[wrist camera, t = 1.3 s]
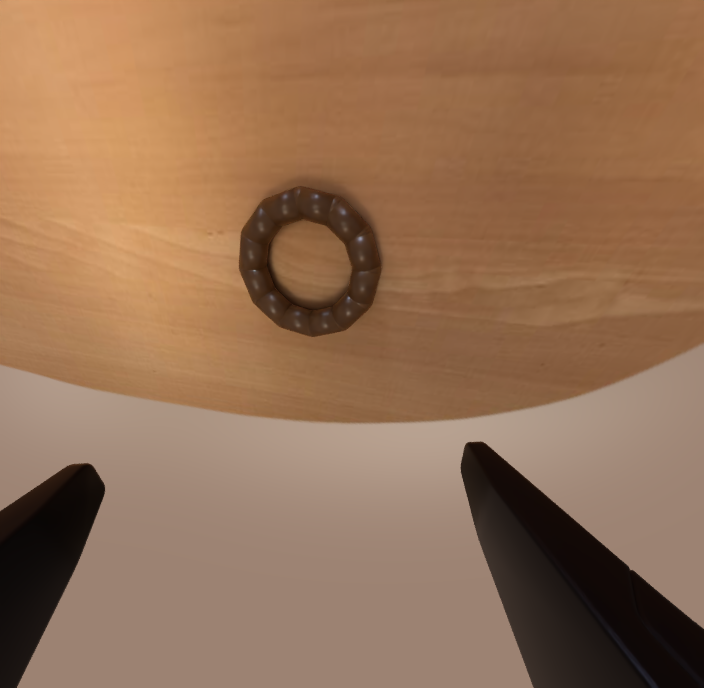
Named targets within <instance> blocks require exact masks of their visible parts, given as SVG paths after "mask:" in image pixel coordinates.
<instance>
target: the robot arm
mask: <svg viewBox="0 0 704 688" xmlns="http://www.w3.org/2000/svg"><path fill="white" fill-rule="evenodd" d="M461 474H462V478H463V482H464V486H465V490H466V493H467V497H468V501H469V505H470V509H471V513H472V517H473V521H474V525H475V528H476V531H477V535H478V538H479V541H480V544H481V547H482V550H483V552H484V555H485V558H486V561H487V563H488V566H489V569H490V571H491V574H492V577H493V579H494V582H495V585H496V587H497V590H498V593H499V596H500V598H501V601H502V604H503V606H504V609H505V612H506V615H507V617H508V620H509V623H510V625H511V628H512V631H513V633H514V636H515V639H516V641H517V644H518V647H519V649H520V652H521V655H522V658H523V660H524V663H525V666H526V668H527V671H528V674H529V677H530V679H531V682H532V685H533V687H534V688H704V629H703V628H702V627H700V626H699V625H698V624H697V623H695V622H694V621H692V619H690V618H689V617H688V616H687V615H685V614H684V613H683V612H682V611H681V610H679V609H678V608H677V607H676V606H675V605H673V604H672V603H671V602H670V601H669V600H667V599H666V598H665V597H663V595H661V594H660V593H659V592H658V591H657V590H655V589H654V588H653V587H652V586H651V585H650V584H648V583H647V582H646V581H645V580H644V579H643V578H641V577H640V576H639V575H638V574H637V573H636V572H635V571H633V570H630V569H629V567H628V566H627V565H626V564H625V563H624V562H623V561H622V560H620V559H619V558H618V557H617V556H616V555H614V554H613V553H612V552H611V551H610V550H609V549H608V548H606V547H605V546H604V545H603V544H602V543H601V542H599V541H598V540H597V539H596V538H595V537H594V536H592V535H591V534H590V533H589V532H588V531H586V530H585V529H584V528H583V527H582V526H581V525H580V524H579V523H577V522H576V521H575V520H574V519H573V518H571V517H570V516H569V515H568V514H567V513H566V512H565V511H563V510H562V509H561V508H560V507H559V506H558V505H556V504H555V503H554V502H553V501H551V499H549V498H548V497H547V496H546V495H545V494H544V493H542V492H541V491H540V490H539V489H538V488H537V487H535V486H534V485H533V484H532V483H531V482H530V481H529V480H527V479H526V478H525V477H524V476H523V475H522V474H520V473H519V472H518V471H517V470H515V468H513V467H512V466H511V465H510V464H509V463H508V462H506V461H505V460H504V459H503V458H502V457H501V456H499V455H498V454H497V453H496V452H495V451H494V450H492V449H491V448H490V447H489V446H488V445H487V444H485V443H484V442H468V443H466V445H465V448H464V453H463V457H462V462H461ZM104 494H105V485H104V483H103V481H102V480H101V478H100V476H99V475H98V473H97V472H96V470H95V468H94V467H93V466H92V465H91V464H88V463H84V464H72V465H69V466H67V467H66V468H64V469H62V470H61V471H59V472H58V473H56V474H55V475H53V476H52V477H50V478H49V479H47V480H46V481H44V482H43V483H41V484H40V485H39V486H37V487H36V488H34V489H33V490H31V491H30V492H28V493H27V494H25V495H24V496H22V497H21V498H19V499H18V500H16V501H15V502H14V503H12V504H10V505H9V506H7V507H6V508H4V509H3V510H1V511H0V688H17V686H18V684H19V682H20V680H21V678H22V676H23V674H24V672H25V669H26V667H27V665H28V664H29V661H30V660H31V657H32V655H33V653H34V651H35V649H36V647H37V645H38V643H39V641H40V639H41V637H42V635H43V633H44V631H45V629H46V627H47V625H48V623H49V621H50V619H51V617H52V615H53V613H54V611H55V609H56V607H57V605H58V603H59V601H60V599H61V597H62V595H63V592H64V590H65V588H66V586H67V584H68V582H69V580H70V578H71V576H72V574H73V572H74V570H75V568H76V565H77V563H78V561H79V559H80V556H81V554H82V552H83V549H84V546H85V544H86V541H87V539H88V536H89V533H90V531H91V528H92V526H93V523H94V520H95V518H96V515H97V513H98V510H99V507H100V504H101V502H102V500H103V497H104Z"/></svg>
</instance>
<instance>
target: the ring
mask: <svg viewBox="0 0 704 688" xmlns="http://www.w3.org/2000/svg"><path fill="white" fill-rule="evenodd" d="M302 219H304V220H308V221H311V222H315V223H319V224H322V225H326V226H327V227H328V228H329V229H330V230H331V231H332V232H333V233H334V234H335V235H336V236H337V237H338V238H339V239H340V240H341V241H342V242H343V243H344V244H345V246H346V250H347V253H348V256H349V260H350V263H351V266H352V273H351V278H350V282H349V286H348V291H347V293H346V294H345V295H344V296H343V297H342V298H341V299H340V300H339V301H338V302H337V303H336V304H335V305H334V306H332V307H328V308H323V309H319V310H315V311H312V310H309V309H305V308H302V307H299V306H295V305H292V304H291V303H290V302H289V301H288V300H287V299H286V298H285V297H284V296H283V295H282V294H281V293H280V292H278V291H277V290H276V289H275V286H274V284H273V281H272V279H271V276H270V274H269V271H268V268H267V258H268V248H269V243H270V241H271V240H272V239H273V237H274V236H275V235H276V233H277V232H278V231H279V229H280V228H281V227H282V226H284V225H287V224H290V223H293V222H296V221H299V220H302ZM239 270H240V273H241V275H242V278H243V280H244V283H245V285H246V287H247V290H248V292H249V294H250V297H251V299H252V301H253V303H254V304H255V305H256V306H257V307H258V308H259V309H260V310H261V311H262V312H264V313H265V314H266V315H267V316H268V317H269V318H270V319H271V320H272V321H273V322H274V323H275V324H277V325H278V326H279V327H281V328H284V329H287V330H290V331H294V332H297V333H300V334H303V335H307V336H310V337H316V336H321V335H326V334H330V333H335V332H340V331H344V330H346V329H348V328H349V327H350V326H351V325H352V324H353V323H354V322H355V321H356V320H357V319H359V318H360V317H361V316H362V315H363V314H364V313H365V312H366V311H367V310H368V309H369V308H370V307H371V305H372V303H373V300H374V296H375V292H376V289H377V285H378V281H379V277H380V274H381V263H380V260H379V256H378V252H377V248H376V244H375V241H374V237H373V233H372V230H371V228H370V226H369V225H368V224H367V223H366V222H365V221H364V220H363V219H362V218H361V217H360V216H359V215H358V214H357V213H356V212H355V211H354V210H353V209H352V208H351V207H350V205H349V204H348V203H347V202H346V201H345V200H344V199H343V198H341V197H339V196H337V195H333V194H329V193H325V192H322V191H318V190H314V189H310V188H306V187H296V188H293V189H290V190H287V191H285V192H282V193H279V194H277V195H274V196H271V197H268V198H266V199H264V200H263V201H262V202H261V203H260V204H259V206H258V207H257V209H256V210H255V212H254V213H253V215H252V216H251V217H250V219H249V220H248V222H247V223H246V225H245V226H244V228H243V229H242V231H241V240H240V256H239Z"/></svg>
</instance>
